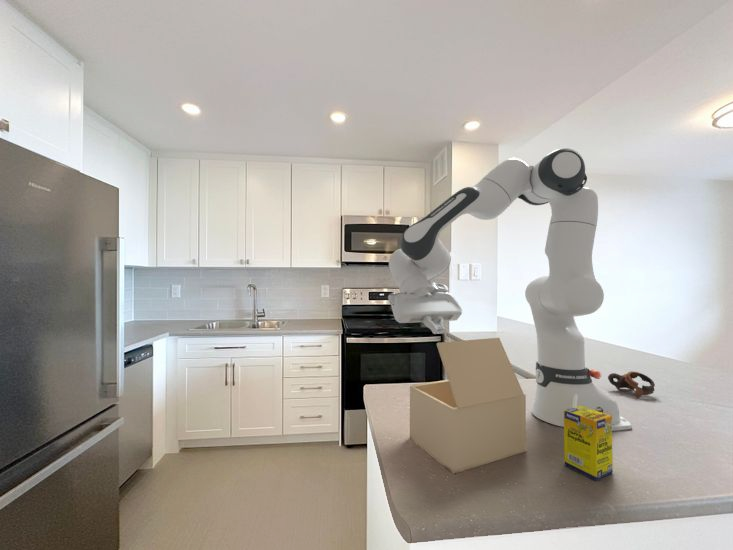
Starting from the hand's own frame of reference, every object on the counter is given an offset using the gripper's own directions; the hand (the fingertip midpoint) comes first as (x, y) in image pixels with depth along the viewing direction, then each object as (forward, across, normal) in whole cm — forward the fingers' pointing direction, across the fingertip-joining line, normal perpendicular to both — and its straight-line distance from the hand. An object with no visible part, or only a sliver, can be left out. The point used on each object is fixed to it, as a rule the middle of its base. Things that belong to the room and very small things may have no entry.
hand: (439, 332), depth 78 cm
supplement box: (+36, +15, -2) cm, 39 cm away
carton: (+23, 0, +10) cm, 25 cm away
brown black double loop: (+21, +76, +14) cm, 80 cm away
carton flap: (+14, 0, -5) cm, 15 cm away
